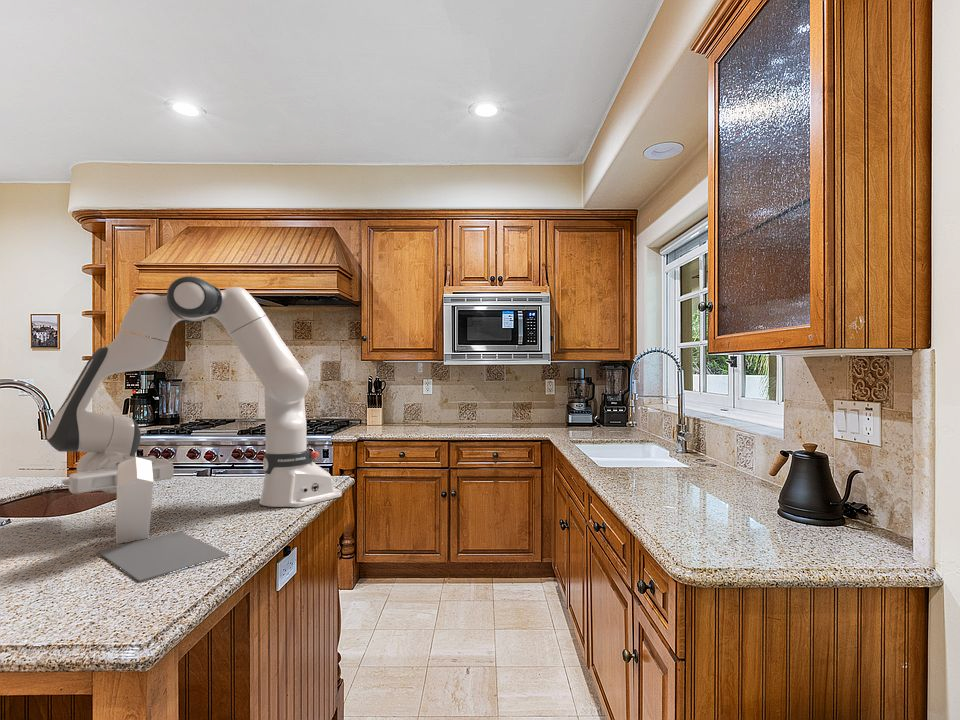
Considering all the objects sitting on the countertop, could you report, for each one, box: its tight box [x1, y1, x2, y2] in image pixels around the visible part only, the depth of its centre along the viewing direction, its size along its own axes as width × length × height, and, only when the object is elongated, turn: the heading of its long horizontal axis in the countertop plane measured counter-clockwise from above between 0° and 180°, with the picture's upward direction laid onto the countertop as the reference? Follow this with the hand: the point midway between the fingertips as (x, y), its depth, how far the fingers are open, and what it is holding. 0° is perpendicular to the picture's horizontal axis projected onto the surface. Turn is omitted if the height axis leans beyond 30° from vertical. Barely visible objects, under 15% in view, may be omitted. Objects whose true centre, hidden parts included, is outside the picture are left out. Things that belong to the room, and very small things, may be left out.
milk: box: [115, 452, 154, 544], centre depth 110 cm, size 6×6×22 cm
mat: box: [96, 531, 230, 583], centre depth 106 cm, size 24×16×1 cm, turn 52°
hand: (134, 481), depth 115 cm, fingers closed
